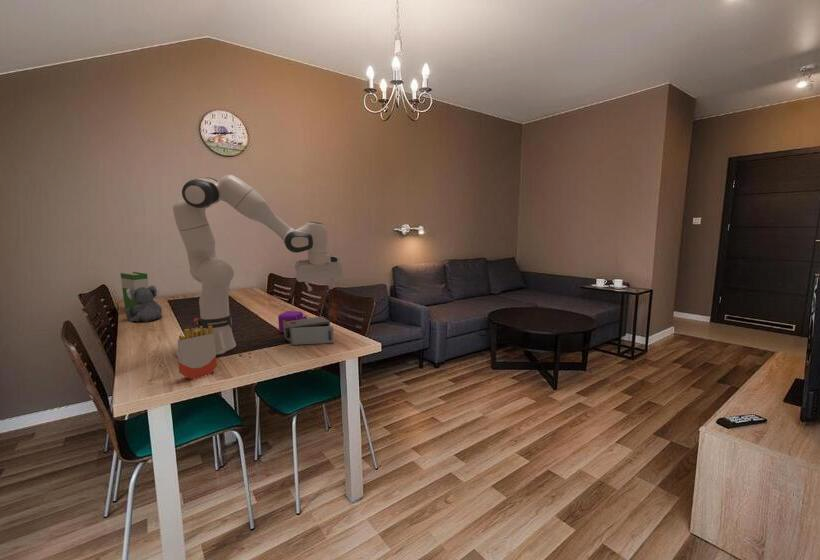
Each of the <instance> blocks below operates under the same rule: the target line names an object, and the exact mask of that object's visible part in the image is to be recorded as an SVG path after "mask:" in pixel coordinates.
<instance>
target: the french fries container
mask: <svg viewBox="0 0 820 560" xmlns="http://www.w3.org/2000/svg"><path fill="white" fill-rule="evenodd" d="M194 329H195V328H194V327H191V328H186V329H183V332H184V335H178V339H177V350H178V357H177V364H178V372H179V373H180V374H181V375H182V376H184V377H187V378H188V379H191V380H193V379H194V378H197V377H200V378H202V377H201V376H204V377H206V376H205V375H207V376H209V375H208V374H210V375H211V374H212V372H213V371H214V370H215V369H216V368H217V366H218V365H217V355H216V350H215V340H214V333H213V330H212V326H208V333H207V329H206V328H204V329H203V327H202V326H200V330H199V331H194ZM190 332H191V333H190ZM190 335H191V337H190ZM184 337H185V339H184ZM197 379H198V378H197ZM194 380H195V379H194Z"/></svg>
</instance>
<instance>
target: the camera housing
mask: <svg viewBox="0 0 820 560" xmlns="http://www.w3.org/2000/svg"><path fill="white" fill-rule="evenodd" d="M325 326H331V320H329V319H327V318H325V317H323V316H316V317H315V316H314V317H307V319H300V320H294V321H287V322H285V328H284V333H283V334H284V338H285V339H286V341H288V342H289V343H290V344H291V332H290V328H303V327H325Z"/></svg>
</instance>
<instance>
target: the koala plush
mask: <svg viewBox="0 0 820 560" xmlns="http://www.w3.org/2000/svg"><path fill="white" fill-rule="evenodd" d="M159 290H160V289H159V288H158V286H157V285H155V284H153V285H150V286H149V287H148V288H146V287H139V288H138V289H136V290H135V289H127V290H126V293H127V295H128V298H130V299H131V300H134V301H135V302H136V303H137V304H138V305H135V306H134V308H133V309H132V308H128V309H127V310H125V309H124V311H125V316H126V319H127V320H128V319H129V320H128V321H130V320H131V321H130V322H132V321H136V322H135V323H140V322H139V321H142V322H144V323H149V322H154V321H155V319H156V320H160V319H162V317H163V314H162V311H163V310H162V306H161V305H160V304H159V303H158V302H157V301H156V300H154V298H156V297H157V296H158V295H159ZM159 318H160V319H159ZM153 320H154V321H153ZM148 321H149V322H148Z"/></svg>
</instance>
